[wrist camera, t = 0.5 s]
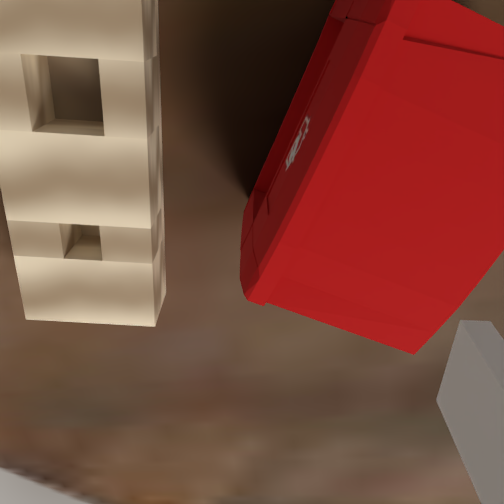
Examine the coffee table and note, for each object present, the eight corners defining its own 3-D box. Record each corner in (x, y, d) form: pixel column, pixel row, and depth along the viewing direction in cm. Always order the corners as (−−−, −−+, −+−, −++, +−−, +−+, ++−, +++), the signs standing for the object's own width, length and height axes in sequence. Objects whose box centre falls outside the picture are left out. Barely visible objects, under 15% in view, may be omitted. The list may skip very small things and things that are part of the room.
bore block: (0, -36, 30) (-44, -43, 26) (157, -25, 31) (140, -30, 26) (50, 285, 41) (25, 319, 37) (165, 292, 42) (154, 326, 37)
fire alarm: (337, -21, 31) (397, -39, 17) (479, 49, 32) (632, 80, 19) (243, 198, 38) (234, 305, 24) (363, 246, 39) (417, 369, 26)
